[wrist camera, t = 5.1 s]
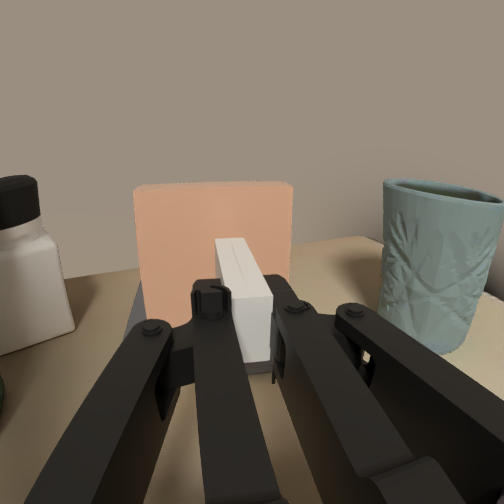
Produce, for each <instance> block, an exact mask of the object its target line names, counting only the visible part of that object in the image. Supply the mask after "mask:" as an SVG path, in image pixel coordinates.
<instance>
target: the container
mask: <svg viewBox="0 0 504 504" xmlns="http://www.w3.org/2000/svg"><path fill="white" fill-rule="evenodd" d="M41 225H42V222H41V215H40V206H39V197H38V187H37V181H36V180H35V179H34V178H33V177H30V176H28V175H15V176H8V177H3V178H0V356H1V355H4V354H7V353H10V352H13V351H16V350H19V349H22V348H25V347H28V346H31V345H34V344H37V343H40V342H43V341H46V340H49V339H52V338H55V337H58V336H61V335H64V334H66V333H69V332H72V331H74V329H75V324H74V320H73V317H72V313H71V309H70V305H69V301H68V296H67V292H66V288H65V283H64V278H63V274H62V269H61V263H60V258H59V252H58V246H57V244H56V243H55V242H54V240H53V239H52V238H51V236H50V235H49V234H48V233H47V231H46V230H45V229H44V227H42V226H41Z"/></svg>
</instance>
